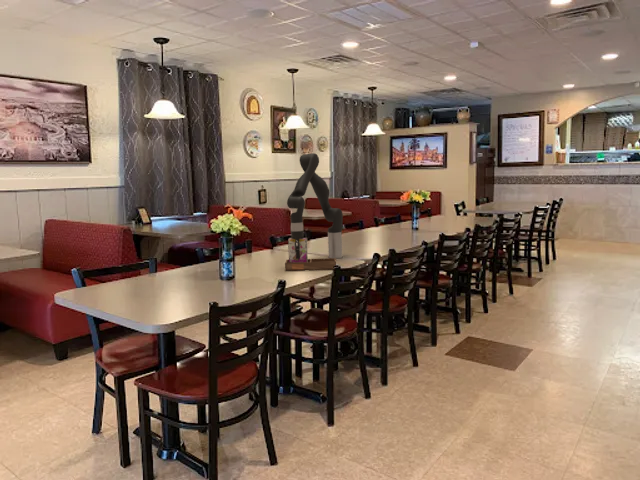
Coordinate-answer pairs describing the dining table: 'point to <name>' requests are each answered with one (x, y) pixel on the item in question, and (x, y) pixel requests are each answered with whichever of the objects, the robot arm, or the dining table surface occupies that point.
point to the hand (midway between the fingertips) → (298, 257)
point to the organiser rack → (311, 265)
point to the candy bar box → (302, 249)
